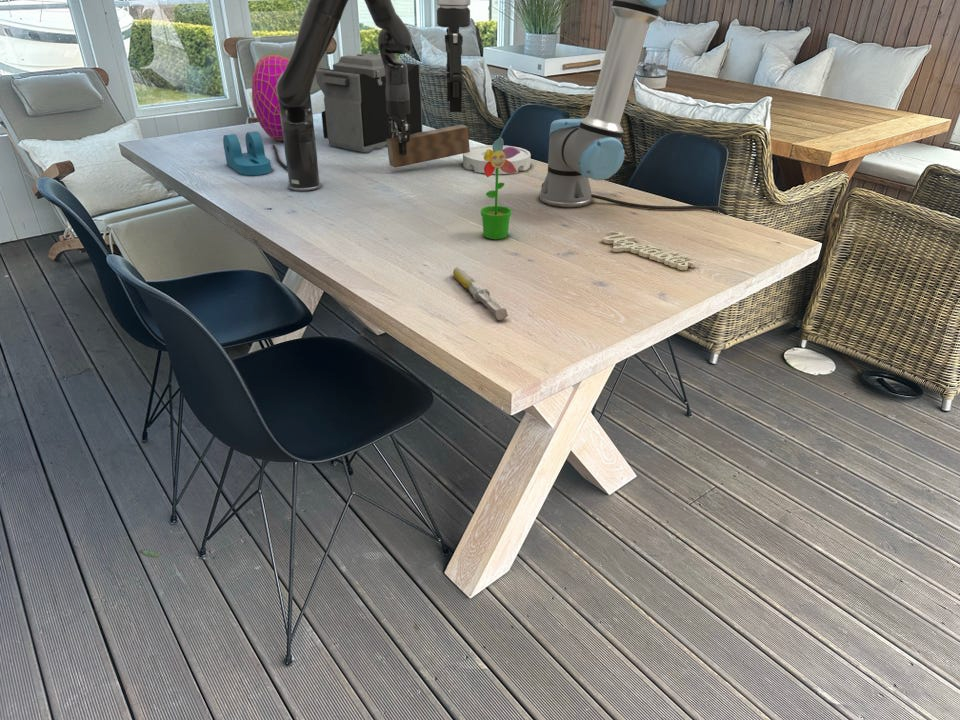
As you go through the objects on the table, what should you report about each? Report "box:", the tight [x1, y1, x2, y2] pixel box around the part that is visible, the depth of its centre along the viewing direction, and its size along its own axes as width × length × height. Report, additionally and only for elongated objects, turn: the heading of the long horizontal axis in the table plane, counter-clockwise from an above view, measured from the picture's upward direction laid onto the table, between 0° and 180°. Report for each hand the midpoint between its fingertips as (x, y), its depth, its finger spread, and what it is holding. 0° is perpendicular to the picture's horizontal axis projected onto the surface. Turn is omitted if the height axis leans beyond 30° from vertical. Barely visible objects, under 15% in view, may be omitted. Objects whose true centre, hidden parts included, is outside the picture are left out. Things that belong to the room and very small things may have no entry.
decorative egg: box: [251, 54, 290, 142], centre depth 257 cm, size 19×19×30 cm
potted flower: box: [480, 137, 520, 240], centre depth 170 cm, size 9×8×25 cm
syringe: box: [452, 266, 509, 321], centre depth 145 cm, size 25×4×3 cm, turn 21°
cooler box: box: [315, 53, 424, 153], centre depth 257 cm, size 37×22×30 cm, turn 144°
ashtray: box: [462, 144, 532, 175], centre depth 235 cm, size 23×23×4 cm
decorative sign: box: [603, 230, 695, 271], centre depth 167 cm, size 26×1×10 cm
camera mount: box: [222, 131, 272, 176], centre depth 226 cm, size 18×10×10 cm, turn 35°
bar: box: [386, 124, 471, 169], centre depth 229 cm, size 28×5×8 cm, turn 118°
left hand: (400, 152), depth 225 cm, fingers closed on bar, 4 cm apart
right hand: (454, 106), depth 165 cm, fingers open, 13 cm apart
